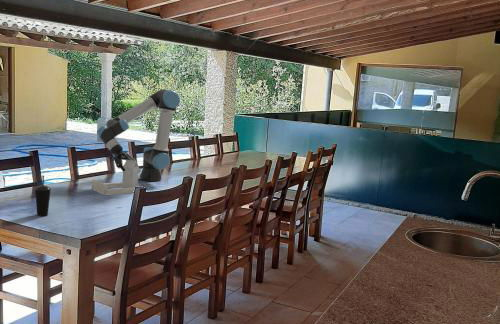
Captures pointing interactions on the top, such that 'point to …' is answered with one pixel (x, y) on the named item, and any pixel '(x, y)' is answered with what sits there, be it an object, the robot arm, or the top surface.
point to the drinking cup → (42, 199)
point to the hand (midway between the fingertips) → (134, 173)
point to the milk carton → (133, 176)
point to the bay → (103, 187)
